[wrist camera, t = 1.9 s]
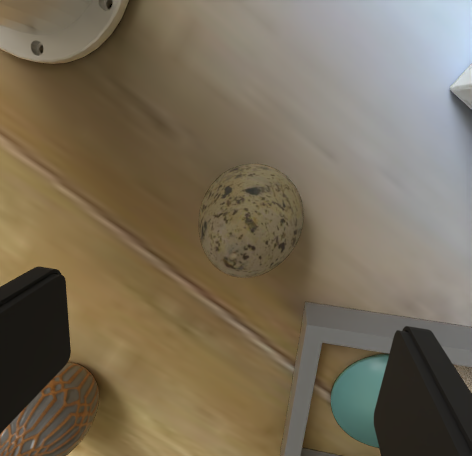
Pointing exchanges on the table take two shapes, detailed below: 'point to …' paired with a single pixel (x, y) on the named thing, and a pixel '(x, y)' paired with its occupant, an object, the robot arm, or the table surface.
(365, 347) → the walled pen
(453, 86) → the tea box
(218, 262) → the decorative egg
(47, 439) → the vase
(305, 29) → the table surface
